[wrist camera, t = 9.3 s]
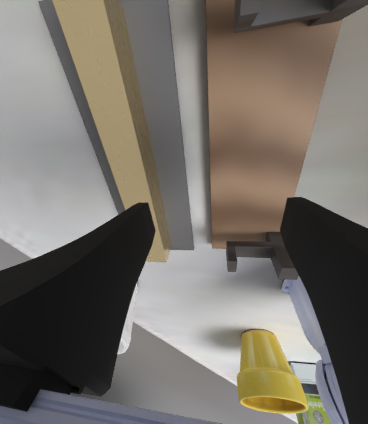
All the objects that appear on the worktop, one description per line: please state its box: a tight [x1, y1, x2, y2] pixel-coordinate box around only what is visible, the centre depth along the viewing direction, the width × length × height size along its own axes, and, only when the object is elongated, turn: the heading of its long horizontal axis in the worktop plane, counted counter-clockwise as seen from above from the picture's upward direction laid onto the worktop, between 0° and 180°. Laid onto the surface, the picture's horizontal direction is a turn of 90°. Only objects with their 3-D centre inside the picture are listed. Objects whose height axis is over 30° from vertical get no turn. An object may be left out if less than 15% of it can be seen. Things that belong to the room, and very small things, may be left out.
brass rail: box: [52, 0, 171, 262], centre depth 17 cm, size 22×3×3 cm, turn 6°
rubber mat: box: [39, 0, 194, 250], centre depth 18 cm, size 24×9×1 cm, turn 6°
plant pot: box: [237, 329, 308, 414], centre depth 32 cm, size 10×10×10 cm
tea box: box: [290, 363, 331, 424], centre depth 35 cm, size 15×10×15 cm
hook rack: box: [206, 0, 368, 280], centre depth 14 cm, size 22×8×6 cm, turn 6°
